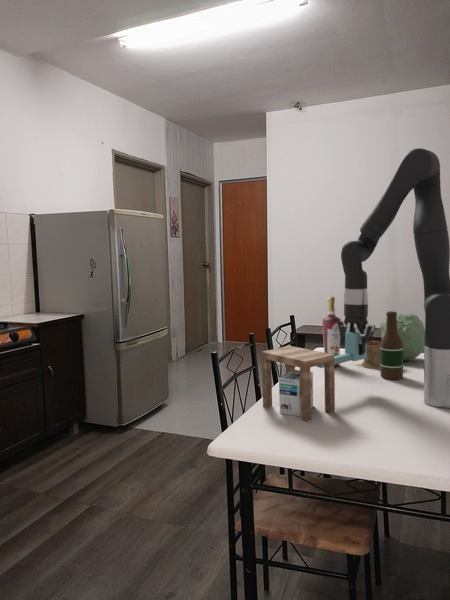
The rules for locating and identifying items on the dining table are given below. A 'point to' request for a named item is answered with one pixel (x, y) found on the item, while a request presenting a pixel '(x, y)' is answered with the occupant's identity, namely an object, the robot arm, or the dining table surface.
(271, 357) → the bench
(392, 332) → the beer bottle
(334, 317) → the liquor
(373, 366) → the mug
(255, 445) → the dining table surface
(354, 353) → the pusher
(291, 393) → the light bulb box
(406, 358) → the cabbage
